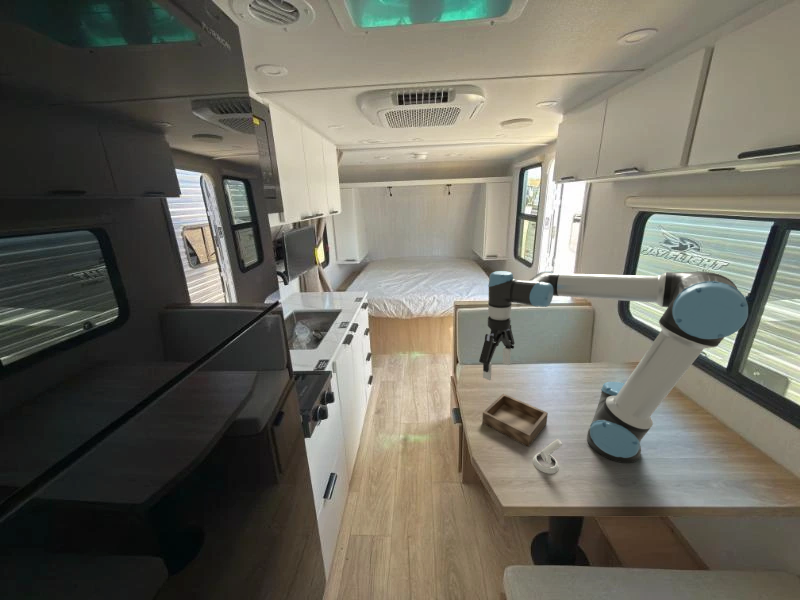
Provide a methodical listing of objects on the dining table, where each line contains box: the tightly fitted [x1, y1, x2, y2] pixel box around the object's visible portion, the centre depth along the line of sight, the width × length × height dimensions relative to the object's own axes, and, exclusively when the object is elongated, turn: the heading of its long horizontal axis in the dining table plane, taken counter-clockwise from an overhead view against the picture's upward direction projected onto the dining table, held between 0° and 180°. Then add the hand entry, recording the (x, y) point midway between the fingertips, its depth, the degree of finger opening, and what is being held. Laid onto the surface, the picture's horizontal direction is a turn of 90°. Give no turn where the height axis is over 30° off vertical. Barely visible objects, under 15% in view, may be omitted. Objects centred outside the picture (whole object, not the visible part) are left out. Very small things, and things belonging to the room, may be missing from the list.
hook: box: [532, 438, 563, 475], centre depth 98 cm, size 8×12×7 cm
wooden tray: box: [482, 393, 549, 448], centre depth 117 cm, size 18×16×5 cm
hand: (497, 371), depth 111 cm, fingers open, 13 cm apart
